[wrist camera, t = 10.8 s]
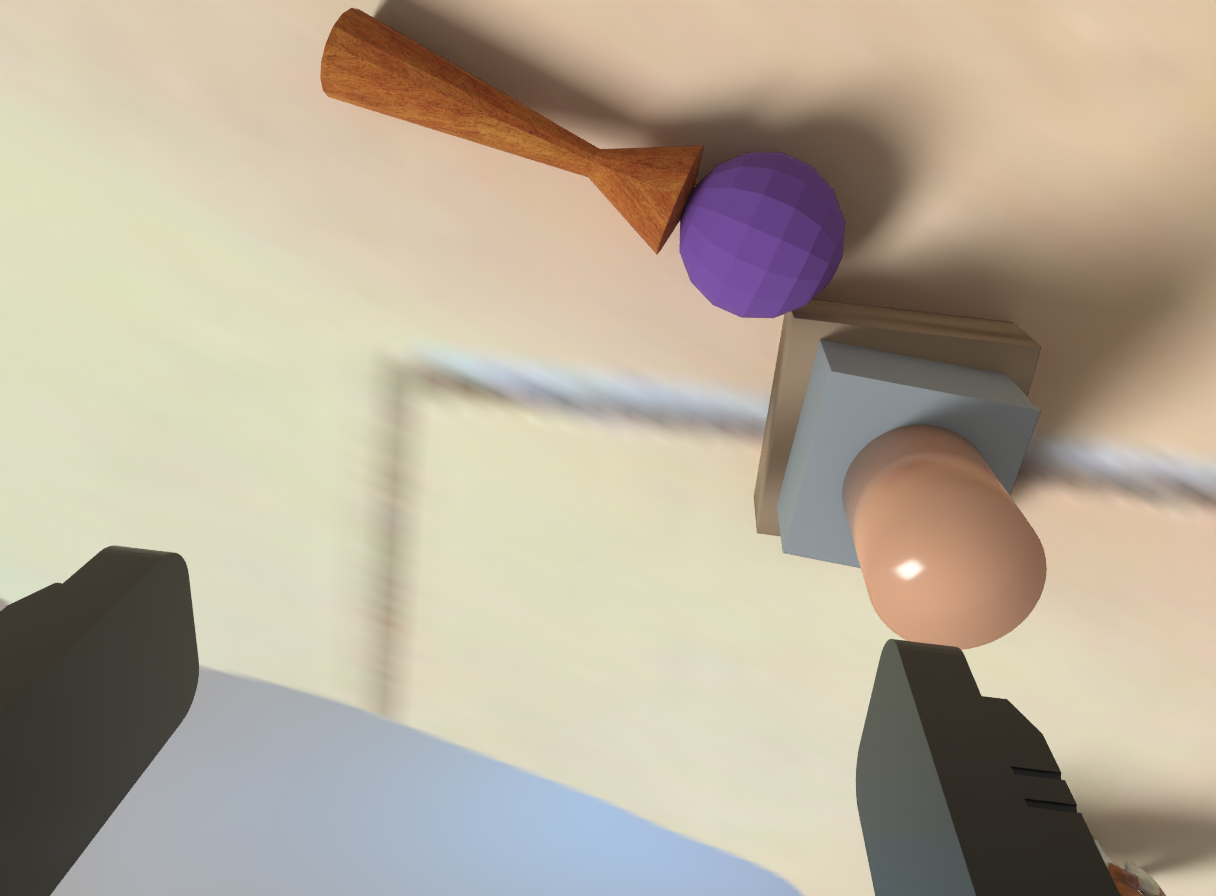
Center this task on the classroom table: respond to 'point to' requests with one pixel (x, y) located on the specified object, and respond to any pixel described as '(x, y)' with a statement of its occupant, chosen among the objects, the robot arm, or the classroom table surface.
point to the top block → (877, 403)
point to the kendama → (619, 173)
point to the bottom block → (882, 331)
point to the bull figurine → (1131, 878)
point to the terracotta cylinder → (940, 539)
